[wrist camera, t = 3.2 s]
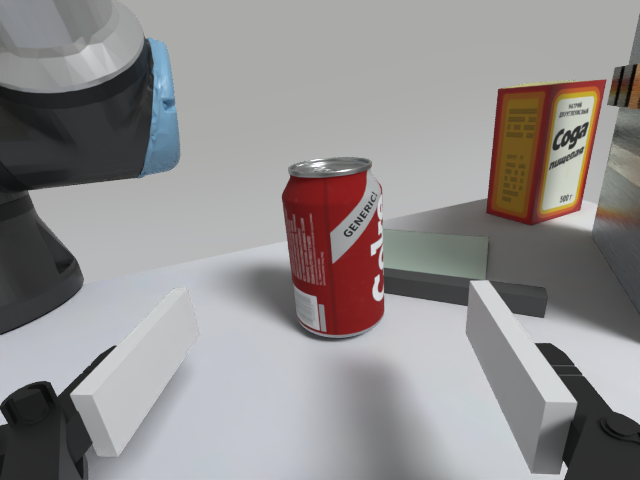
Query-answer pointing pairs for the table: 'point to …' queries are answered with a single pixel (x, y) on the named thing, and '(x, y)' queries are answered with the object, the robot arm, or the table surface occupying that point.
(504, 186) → the baking soda box
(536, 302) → the bar
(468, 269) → the mat
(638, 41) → the breaker panel
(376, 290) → the soda can
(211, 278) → the table surface
